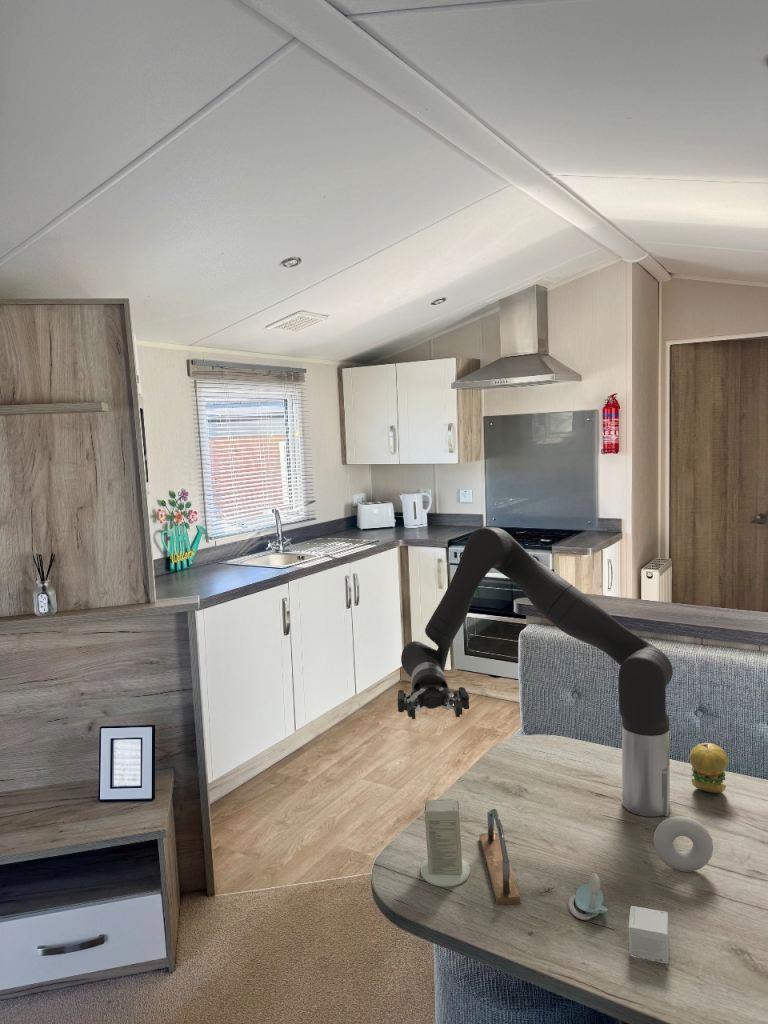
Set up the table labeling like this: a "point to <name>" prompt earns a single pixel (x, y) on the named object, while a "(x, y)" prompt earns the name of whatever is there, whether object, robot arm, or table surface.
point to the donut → (683, 859)
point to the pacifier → (588, 899)
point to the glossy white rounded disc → (445, 876)
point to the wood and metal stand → (499, 862)
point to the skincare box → (443, 837)
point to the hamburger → (708, 767)
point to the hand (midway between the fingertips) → (435, 713)
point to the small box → (649, 934)
